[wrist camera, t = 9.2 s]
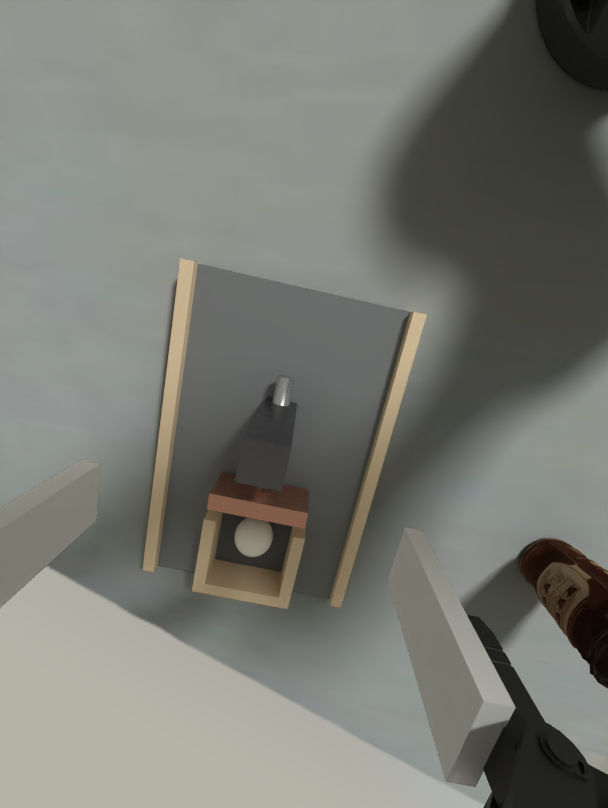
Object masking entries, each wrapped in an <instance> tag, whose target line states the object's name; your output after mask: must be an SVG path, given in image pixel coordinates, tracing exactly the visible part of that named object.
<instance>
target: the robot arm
mask: <svg viewBox="0 0 608 808" xmlns="http://www.w3.org/2000/svg"><path fill="white" fill-rule="evenodd" d="M537 8H538V16H539V21H540V26H541V29H542V33H543V36H544V38H545V41H546V43H547V45H548V48H549V50H550V51H551V53H552V55H553V56H554V58H555V59H556V61H557V62H558V63H559V64H560V66H561V67H562V68H563V69H564V70H565V71H566V72H567V73H569V74H570V75H571V76H572V77H574V78H575V79H577V80H578V81H580V82H582V83H584V84H586V85H589V86H591V87H595V88H598V89H604V90H608V0H537ZM99 477H100V463H96V462H91V461H86V460H81V461H79V462H77V463H76V464H74V465H72V466H71V467H69V468H67V469H65V470H64V471H62V472H60V473H59V474H57V475H55V476H54V477H52V478H50V479H49V480H47V481H45V482H43V483H42V484H40V485H38V486H37V487H35V488H33V489H32V490H30V491H28V492H26V493H25V494H23V495H21V496H20V497H18V498H16V499H15V500H13V501H11V502H9V503H8V504H6V505H4V506H3V507H1V508H0V608H1V607H2V606H3V605H4V604H5V603H6V602H7V601H8V600H9V599H10V598H11V597H13V596H14V595H15V594H16V593H17V592H18V591H19V590H20V589H21V588H22V587H24V586H25V585H26V584H27V583H28V582H29V581H30V580H31V579H32V578H34V577H35V575H37V574H38V573H39V572H40V571H41V570H42V569H44V568H45V567H46V566H47V565H48V564H49V563H50V562H51V561H52V560H53V559H55V558H56V557H57V556H58V555H59V554H60V553H61V552H62V551H63V550H64V549H66V548H67V547H68V546H69V545H70V544H71V543H72V542H73V541H74V540H75V539H77V538H78V537H79V536H80V535H81V534H82V533H83V532H84V531H85V530H86V529H88V528H89V527H90V526H91V525H92V524H93V523H94V522H95V521H96V520H97V506H98V492H99ZM388 584H389V587H390V590H391V594H392V597H393V601H394V604H395V608H396V611H397V615H398V618H399V621H400V625H401V628H402V632H403V635H404V639H405V642H406V646H407V649H408V652H409V656H410V659H411V663H412V666H413V670H414V673H415V676H416V680H417V683H418V687H419V690H420V694H421V697H422V701H423V704H424V707H425V711H426V714H427V718H428V721H429V725H430V728H431V732H432V735H433V738H434V742H435V745H436V749H437V752H438V756H439V759H440V763H441V766H442V769H443V773H444V776H445V780H446V782H452V783H457V784H462V785H467V786H473V787H476V785H477V783H478V781H479V779H480V777H481V775H482V773H483V771H484V772H485V775H486V777H487V780H488V782H489V785H490V788H491V790H492V792H491V794H490V796H489V798H488V800H487V802H486V804H485V806H484V808H608V775H607V774H605V773H604V772H602V771H600V770H598V769H596V768H594V767H592V766H590V765H589V764H588V763H587V761H586V760H585V758H584V756H583V755H582V754H581V753H580V751H579V750H578V749H577V748H576V746H575V745H574V744H573V743H572V742H571V741H570V740H569V739H568V738H567V737H566V736H565V735H564V734H562V733H561V732H560V731H559V730H557V729H556V728H554V727H552V726H551V725H549V724H548V723H546V722H545V721H544V719H543V717H542V716H541V714H540V712H539V711H538V709H537V707H536V705H535V704H534V702H533V700H532V699H531V697H530V695H529V693H528V692H527V690H526V688H525V687H524V685H523V683H522V681H521V680H520V678H519V676H518V675H517V673H516V671H515V669H514V668H513V667H511V663H510V661H509V659H508V657H507V656H506V654H505V653H504V652H503V649H502V647H501V645H500V644H499V642H498V640H497V639H496V637H495V635H494V633H493V632H492V631H491V630H490V629H489V628H488V627H487V626H486V624H485V623H484V622H483V621H482V620H481V619H480V618H479V617H475V616H470V615H467V614H466V612H465V611H464V609H463V607H462V605H461V603H460V601H459V599H458V597H457V595H456V594H455V592H454V590H453V588H452V586H451V584H450V582H449V580H448V578H447V576H446V575H445V573H444V571H443V569H442V567H441V565H440V563H439V561H438V559H437V558H436V556H435V554H434V552H433V550H432V548H431V546H430V544H429V542H428V540H427V539H426V537H425V535H424V533H423V531H421V530H416V529H411V528H407V527H405V529H404V532H403V535H402V538H401V541H400V544H399V547H398V550H397V553H396V556H395V559H394V562H393V565H392V568H391V571H390V574H389V577H388Z"/></svg>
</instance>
